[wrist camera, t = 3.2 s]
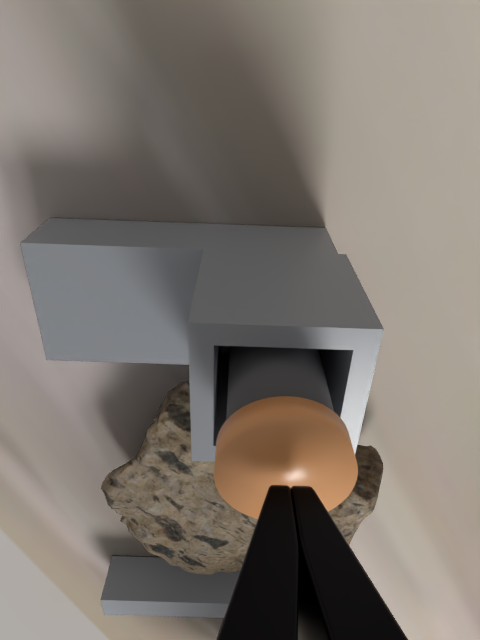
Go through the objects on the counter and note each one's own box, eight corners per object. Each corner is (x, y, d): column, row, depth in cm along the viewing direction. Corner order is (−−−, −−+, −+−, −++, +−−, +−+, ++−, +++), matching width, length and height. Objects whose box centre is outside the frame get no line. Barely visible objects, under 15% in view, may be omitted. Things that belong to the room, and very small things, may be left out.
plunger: (313, 369, 15) (346, 524, 10) (223, 366, 15) (213, 520, 10) (324, 290, 14) (369, 425, 9) (225, 286, 14) (213, 420, 9)
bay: (283, 575, 28) (293, 721, 22) (114, 570, 27) (78, 716, 21) (333, 228, 16) (383, 329, 10) (49, 217, 16) (-66, 313, 10)
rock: (88, 493, 24) (58, 573, 21) (185, 336, 19) (169, 404, 15) (262, 558, 27) (264, 640, 23) (389, 435, 22) (419, 515, 18)
